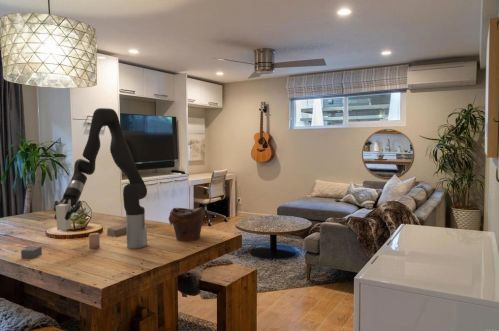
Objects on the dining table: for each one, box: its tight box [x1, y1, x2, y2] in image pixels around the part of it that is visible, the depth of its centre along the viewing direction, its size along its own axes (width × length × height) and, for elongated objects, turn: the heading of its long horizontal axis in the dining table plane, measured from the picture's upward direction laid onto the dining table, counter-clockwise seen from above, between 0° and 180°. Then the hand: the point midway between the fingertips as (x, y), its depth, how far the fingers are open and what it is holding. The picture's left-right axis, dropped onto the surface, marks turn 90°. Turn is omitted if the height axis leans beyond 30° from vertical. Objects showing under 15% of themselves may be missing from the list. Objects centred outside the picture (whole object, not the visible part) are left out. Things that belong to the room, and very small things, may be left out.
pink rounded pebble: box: [88, 232, 101, 250], centre depth 183 cm, size 5×5×7 cm
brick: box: [106, 222, 127, 237], centre depth 211 cm, size 17×8×5 cm, turn 146°
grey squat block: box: [20, 246, 43, 259], centre depth 170 cm, size 6×6×4 cm
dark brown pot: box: [168, 206, 205, 242], centre depth 198 cm, size 18×20×18 cm
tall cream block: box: [55, 204, 72, 231], centre depth 174 cm, size 4×4×12 cm
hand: (61, 219), depth 172 cm, fingers closed on tall cream block, 4 cm apart
